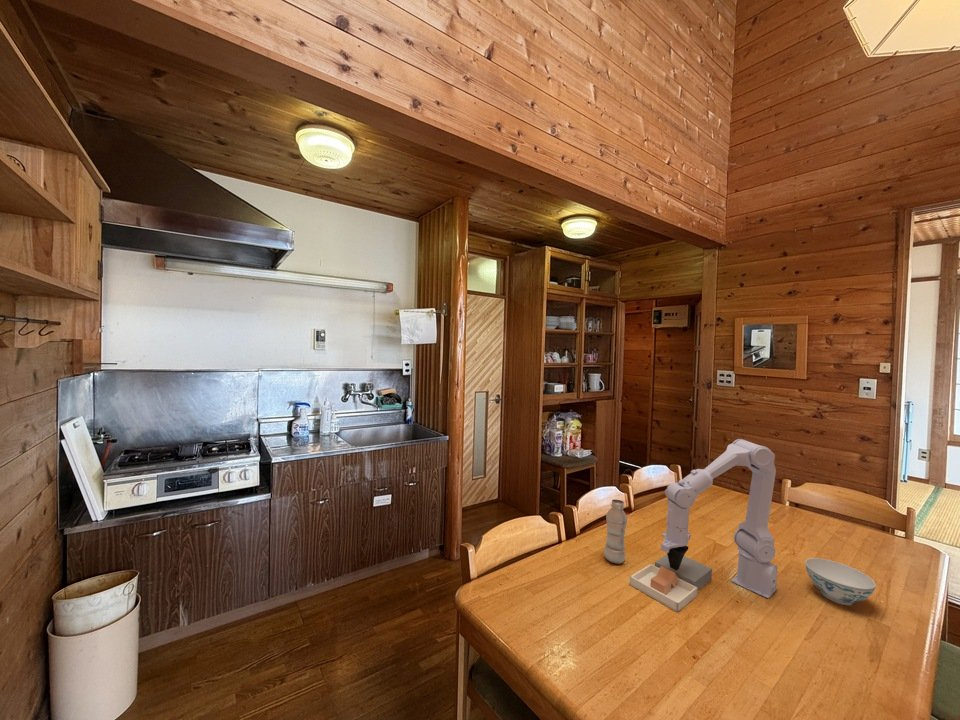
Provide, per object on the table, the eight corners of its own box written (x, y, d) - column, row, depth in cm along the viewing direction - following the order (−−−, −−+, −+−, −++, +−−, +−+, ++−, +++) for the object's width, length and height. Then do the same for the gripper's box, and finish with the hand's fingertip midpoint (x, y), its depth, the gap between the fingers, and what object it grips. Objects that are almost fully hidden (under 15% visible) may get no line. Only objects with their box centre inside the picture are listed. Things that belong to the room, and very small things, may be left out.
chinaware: (862, 593, 113) (864, 568, 113) (882, 623, 100) (885, 595, 100) (798, 576, 121) (800, 552, 121) (809, 602, 108) (812, 576, 108)
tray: (697, 596, 108) (697, 587, 108) (677, 612, 101) (678, 603, 101) (650, 571, 119) (650, 563, 119) (629, 584, 112) (630, 576, 112)
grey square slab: (711, 579, 117) (712, 568, 116) (694, 593, 109) (695, 581, 109) (672, 561, 126) (673, 550, 126) (654, 572, 119) (654, 561, 119)
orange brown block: (674, 587, 111) (678, 578, 112) (670, 581, 109) (674, 572, 110) (661, 580, 114) (665, 571, 115) (657, 574, 112) (660, 565, 113)
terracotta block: (664, 586, 106) (663, 596, 107) (671, 581, 109) (670, 591, 109) (650, 578, 110) (650, 588, 110) (657, 574, 112) (657, 584, 112)
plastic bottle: (626, 568, 121) (630, 506, 120) (604, 564, 122) (608, 504, 121) (623, 557, 127) (627, 499, 126) (602, 554, 128) (605, 496, 128)
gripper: (675, 513, 121) (672, 554, 121) (652, 524, 112) (649, 569, 113) (698, 522, 115) (695, 565, 116) (676, 534, 107) (673, 581, 107)
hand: (674, 568), depth 114 cm, fingers closed
